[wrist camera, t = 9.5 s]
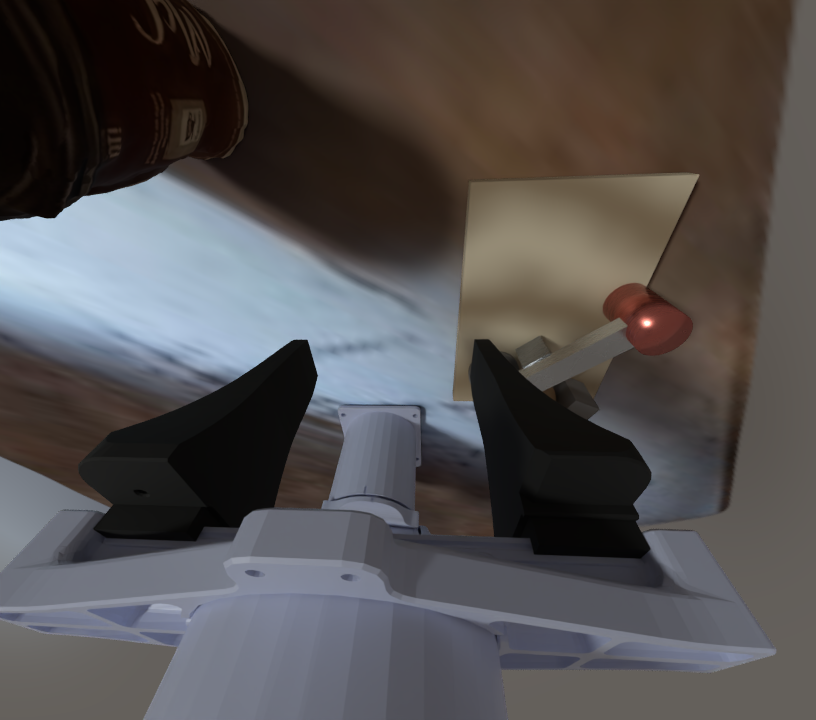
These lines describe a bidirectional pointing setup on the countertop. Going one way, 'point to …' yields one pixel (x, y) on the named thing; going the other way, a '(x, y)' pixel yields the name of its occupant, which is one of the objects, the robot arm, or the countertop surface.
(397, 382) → the countertop surface
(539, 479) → the robot arm
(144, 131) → the coffee cup
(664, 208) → the cracker base
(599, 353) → the lever
